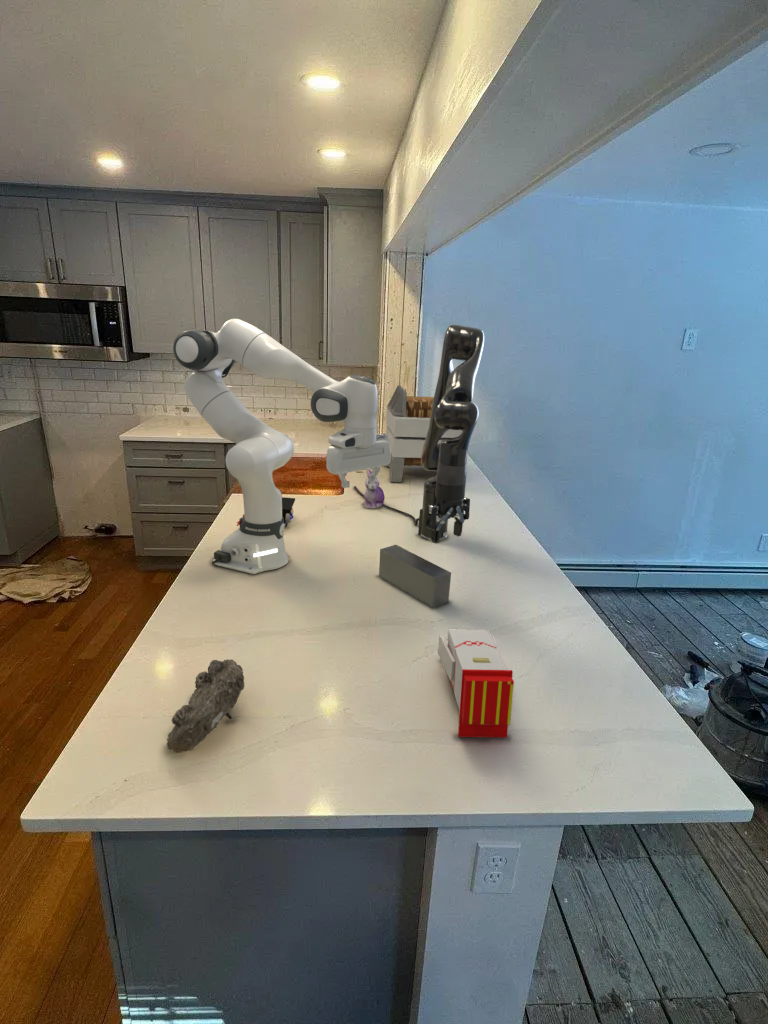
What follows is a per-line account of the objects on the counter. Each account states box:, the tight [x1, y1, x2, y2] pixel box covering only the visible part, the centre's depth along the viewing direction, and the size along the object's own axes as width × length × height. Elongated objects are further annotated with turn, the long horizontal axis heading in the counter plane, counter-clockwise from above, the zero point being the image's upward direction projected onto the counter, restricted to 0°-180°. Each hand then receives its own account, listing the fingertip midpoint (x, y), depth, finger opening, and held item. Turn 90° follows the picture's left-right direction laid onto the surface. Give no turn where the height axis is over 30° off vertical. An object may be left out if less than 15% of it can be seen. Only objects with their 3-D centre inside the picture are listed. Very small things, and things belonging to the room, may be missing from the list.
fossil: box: [166, 658, 245, 754], centre depth 106 cm, size 22×10×15 cm
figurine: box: [363, 469, 385, 509], centre depth 225 cm, size 9×10×15 cm
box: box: [378, 544, 452, 609], centre depth 160 cm, size 23×6×9 cm, turn 40°
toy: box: [437, 628, 515, 738], centre depth 117 cm, size 12×13×30 cm
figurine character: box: [282, 496, 296, 528], centre depth 204 cm, size 7×8×15 cm
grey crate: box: [385, 384, 462, 483], centre depth 268 cm, size 34×33×41 cm
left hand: (358, 484), depth 160 cm, fingers open, 8 cm apart
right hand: (446, 539), depth 150 cm, fingers open, 8 cm apart
